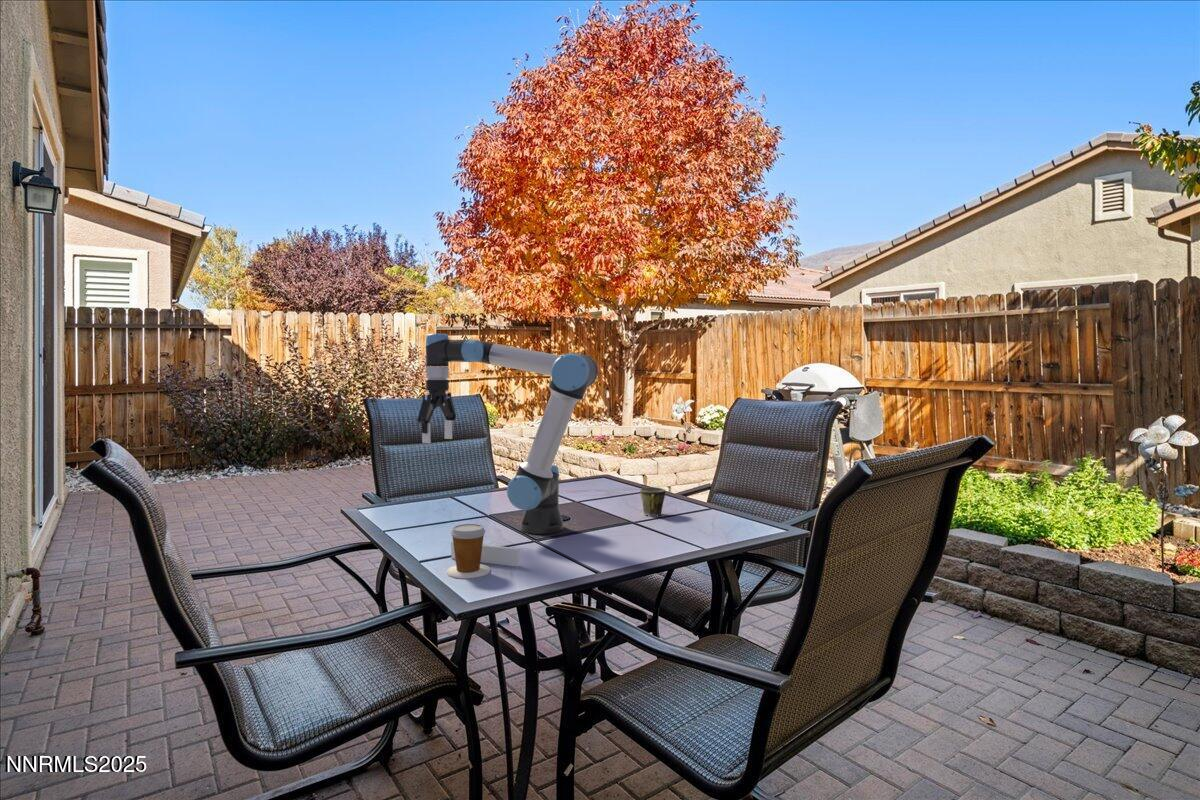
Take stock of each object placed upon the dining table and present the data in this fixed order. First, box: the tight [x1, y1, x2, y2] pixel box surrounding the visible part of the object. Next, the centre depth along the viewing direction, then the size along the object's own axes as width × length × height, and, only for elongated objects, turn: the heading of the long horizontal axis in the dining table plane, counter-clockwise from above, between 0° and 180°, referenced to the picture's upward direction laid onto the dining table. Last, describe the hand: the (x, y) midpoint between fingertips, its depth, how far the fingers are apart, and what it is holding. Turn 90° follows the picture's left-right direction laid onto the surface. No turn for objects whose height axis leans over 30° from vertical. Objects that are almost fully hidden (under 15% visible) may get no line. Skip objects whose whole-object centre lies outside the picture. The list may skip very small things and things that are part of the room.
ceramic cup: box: [639, 486, 667, 517], centre depth 253 cm, size 13×10×10 cm
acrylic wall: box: [450, 541, 521, 568], centre depth 192 cm, size 22×1×5 cm, turn 71°
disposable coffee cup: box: [450, 523, 486, 573], centre depth 184 cm, size 10×10×12 cm
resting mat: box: [446, 563, 491, 580], centre depth 183 cm, size 12×12×1 cm
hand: (437, 440), depth 225 cm, fingers open, 13 cm apart
